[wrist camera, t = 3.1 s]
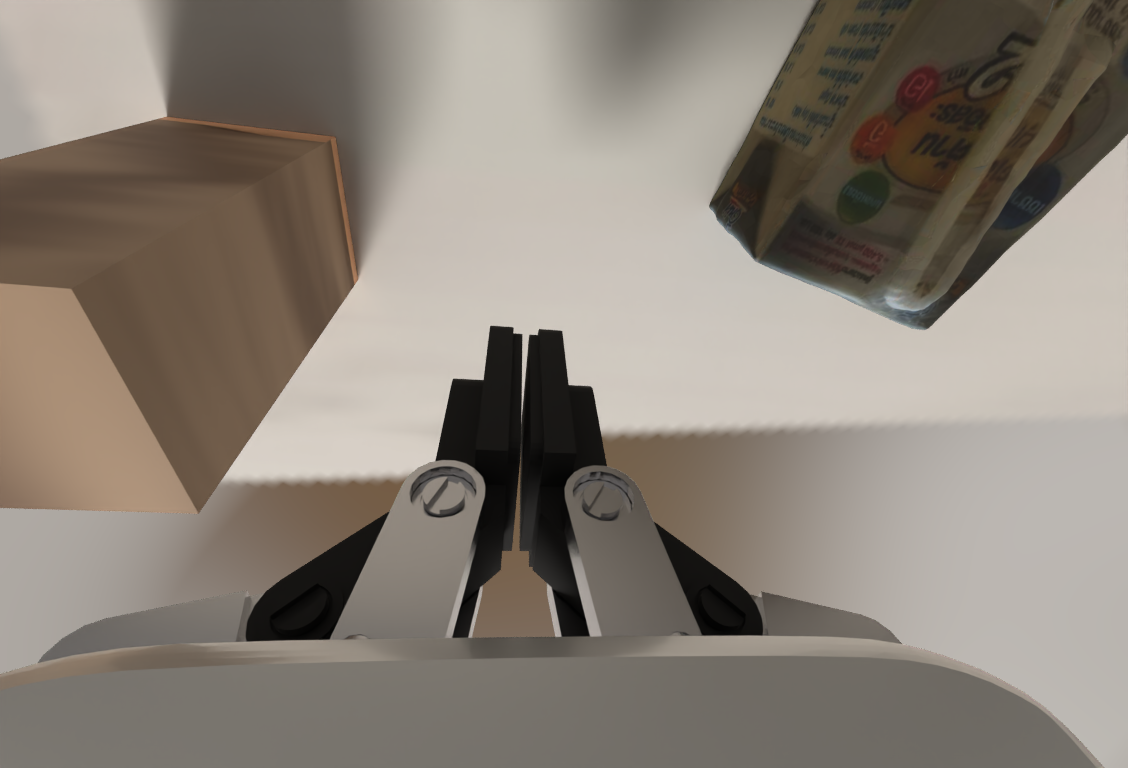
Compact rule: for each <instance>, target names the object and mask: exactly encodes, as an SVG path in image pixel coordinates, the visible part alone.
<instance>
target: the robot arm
mask: <svg viewBox="0 0 1128 768" xmlns="http://www.w3.org/2000/svg"><path fill="white" fill-rule="evenodd" d="M521 400H522V334H513V327H501V326H490V332H489V340H488V349H487V357H486V365H485V374H484V380H468V379H453V381H452V385H451V389H450V394H449V399H448V404H447V409H446V413H445V418H444V423H443V428H442V433H441V437H440V442H439V447H438V452H437V457H436V461H435V462H430V463H428V464H426V465H423V466H421V467H419V468H417V469H416V470H415V471H414V472H412V473H411V474H410V475H409V476H408V477H407V479H406V480H405V482H404V483H403V485H402V487H401V489H400V491H399V493H398V495H397V498H396V500H395V502H394V504H393V506H392V508H391V510H390V511H389V512H388V513H386V514H385V515H383V516H381V517H380V518H378V519H377V520H375V521H373V522H372V523H370V524H369V525H367V526H365V527H364V528H362V529H361V530H359V531H358V532H356V533H354V534H353V535H351V536H350V537H348V538H347V539H345V540H343V541H342V542H340V543H339V544H337V545H335V546H334V547H332V548H331V549H329V550H327V551H326V552H324V553H323V554H321V555H320V556H318V557H316V558H315V559H313V560H312V561H310V562H308V563H307V564H305V565H304V566H302V567H301V568H299V569H297V570H296V571H294V572H293V573H291V574H289V575H288V576H286V577H285V578H283V579H282V580H280V581H279V582H278V583H276V584H275V585H274V586H273V587H271V588H270V589H269V590H267V591H266V592H265V593H263V594H258V595H253V596H249V594H248V592H247V591H242V592H237V593H232V594H227V595H222V596H217V597H212V598H206V599H201V600H196V601H191V602H187V603H181V604H176V605H171V606H166V607H161V608H156V609H151V610H146V611H141V612H136V613H131V614H125V615H121V616H116V617H111V618H106V619H103V620H100V621H97V622H94V623H91V624H88V625H85V626H83V627H81V628H79V629H78V630H76V631H74V632H73V633H71V634H69V635H68V636H66V637H64V638H62V639H61V640H60V641H59V642H58V643H57V644H55V645H54V646H53V647H52V648H51V649H50V650H49V651H47V652H46V653H45V654H44V655H43V656H42V658H41V659H40V660H39V662H38V663H37V664H33V665H30V666H26V667H23V668H19V669H16V670H12V671H9V672H6V673H2V674H0V768H1104V767H1103V766H1102V764H1101V763H1100V762H1099V761H1098V760H1097V759H1096V758H1095V757H1094V756H1093V755H1092V753H1091V752H1090V751H1089V750H1088V749H1087V748H1086V747H1085V746H1084V745H1083V743H1082V742H1081V741H1079V739H1078V738H1077V737H1076V736H1075V735H1074V734H1073V733H1072V732H1071V731H1070V730H1069V729H1068V728H1067V727H1066V726H1065V725H1064V724H1063V723H1062V722H1061V721H1060V720H1058V719H1057V718H1056V717H1055V716H1054V715H1053V714H1052V713H1051V712H1050V711H1048V710H1047V709H1046V708H1045V707H1044V706H1042V705H1041V704H1040V703H1038V702H1037V701H1036V700H1034V699H1033V698H1031V697H1030V696H1029V695H1027V694H1026V693H1024V692H1023V691H1021V690H1019V689H1017V688H1015V687H1014V686H1012V685H1010V684H1008V683H1006V682H1005V681H1003V680H1001V679H999V678H997V677H995V676H993V675H991V674H989V673H986V672H984V671H983V670H981V669H978V668H975V667H973V666H970V665H968V664H965V663H962V662H960V661H957V660H955V659H952V658H949V657H946V656H944V655H941V654H937V653H934V652H931V651H928V650H924V649H920V648H916V647H912V646H908V645H903V644H902V643H901V642H900V641H899V640H898V639H897V638H896V637H895V636H894V635H893V633H892V632H891V631H890V630H888V629H887V628H886V627H884V626H883V625H881V624H880V623H879V622H877V621H876V620H873V619H871V618H868V617H866V616H863V615H860V614H856V613H852V612H847V611H843V610H839V609H834V608H830V607H826V606H821V605H817V604H813V603H809V602H804V601H800V600H796V599H791V598H787V597H783V596H778V595H774V594H770V593H765V592H761V593H760V594H759V595H758V596H754V595H750V594H749V593H748V592H747V591H746V590H745V589H744V588H743V587H741V586H740V585H739V584H738V583H737V582H736V581H734V580H733V579H732V578H730V577H729V576H728V575H726V574H725V573H723V572H722V571H721V570H719V569H718V568H717V567H715V566H714V565H712V564H711V563H710V562H708V561H707V560H706V559H704V558H703V557H701V556H700V555H699V554H697V553H696V552H695V551H693V550H692V549H691V548H689V547H688V546H686V545H685V544H684V543H682V542H681V541H680V540H678V539H677V538H675V537H674V536H673V535H671V534H670V533H669V532H667V531H666V530H664V529H663V528H662V527H660V526H659V525H658V524H656V523H655V522H654V521H653V519H652V517H651V515H650V512H649V510H648V508H647V505H646V503H645V501H644V498H643V496H642V493H641V491H640V490H639V488H638V486H637V485H636V483H635V482H634V481H633V480H632V479H631V478H630V477H629V476H627V475H626V474H624V473H623V472H620V471H619V470H617V469H614V468H611V467H607V464H606V459H605V453H604V449H603V442H602V437H601V431H600V426H599V420H598V415H597V410H596V404H595V399H594V393H593V389H592V387H591V386H573V385H568V377H567V368H566V360H565V351H564V343H563V334H562V331H557V330H543V329H539V331H538V335H529V344H528V356H527V367H526V378H525V389H524V401H523V412H522V424H521ZM520 452H521V477H520V480H521V482H520V551H529V567H533V570H534V572H536V573H537V574H538V575H539V576H540V577H541V578H542V579H543V580H544V581H545V582H546V583H547V595H548V601H549V606H550V611H551V616H552V622H553V627H554V632H555V637H506V638H505V637H502V638H501V637H500V638H499V637H497V638H472V633H473V629H474V625H475V621H476V616H477V612H478V608H479V603H480V600H481V595H482V585H484V584H485V583H486V582H487V581H488V580H489V579H490V578H492V577H493V576H494V575H495V574H496V573H497V572H498V571H499V570H501V558H502V551H511V550H512V542H513V530H514V520H515V509H516V497H517V486H518V477H519V476H518V475H519V465H520Z"/></svg>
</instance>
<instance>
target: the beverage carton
mask: <svg viewBox="0 0 1128 768" xmlns="http://www.w3.org/2000/svg"><path fill="white" fill-rule="evenodd" d="M1127 134H1128V0H820V2H819V4H818V6H817V7H816V9H815V11H814V13H813V15H812V16H811V18H810V20H809V22H808V24H807V25H806V27H805V29H804V31H803V33H802V35H801V36H800V38H799V40H798V42H797V44H796V45H795V47H794V49H793V51H792V53H791V55H790V56H789V58H788V60H787V62H786V64H785V65H784V67H783V69H782V71H781V73H780V75H779V76H778V78H777V80H776V82H775V84H774V86H773V87H772V89H771V91H770V93H769V95H768V97H767V98H766V100H765V102H764V104H763V106H762V108H761V110H760V112H759V114H758V116H757V118H756V120H755V122H754V124H753V126H752V128H751V130H750V132H749V134H748V136H747V138H746V140H745V142H744V144H743V146H742V148H741V149H740V151H739V153H738V155H737V156H736V158H735V160H734V162H733V164H732V165H731V167H730V169H729V171H728V173H727V175H726V176H725V178H724V180H723V182H722V184H721V186H720V187H719V189H718V191H717V193H716V194H715V196H714V198H713V199H712V201H711V202H710V206H709V207H710V209H711V210H712V211H713V212H714V213H715V215H716V218H717V221H718V222H719V223H720V224H721V225H722V226H723V227H724V228H725V229H726V231H727V232H728V233H729V234H731V235H733V236H734V237H735V238H736V239H737V240H738V241H739V242H740V244H741V245H742V246H743V248H744V249H745V250H746V251H747V252H748V253H749V255H750V256H751V257H752V258H753V259H754V260H755V261H756V262H758V263H760V264H762V265H765V266H767V267H769V268H771V269H773V270H776V271H778V272H780V273H783V274H785V275H788V276H791V277H793V278H796V279H798V280H801V281H803V282H805V283H807V284H810V285H813V286H816V287H818V288H821V289H824V290H826V291H829V292H831V293H833V294H836V295H838V296H841V297H843V298H845V299H847V300H848V301H850V302H852V303H854V304H856V305H859V306H861V307H863V308H866V309H868V310H870V311H872V312H875V313H877V314H879V315H881V316H883V317H886V318H888V319H890V320H892V321H895V322H897V323H899V324H902V325H905V326H907V327H910V328H912V329H919V330H926V329H928V328H929V327H930V326H931V325H932V324H933V323H934V322H935V321H936V320H937V319H938V318H939V317H940V316H941V315H942V314H943V313H944V312H945V311H946V310H947V309H949V308H950V307H951V306H952V305H953V304H954V303H955V302H956V301H957V300H958V299H959V298H960V297H961V296H962V295H963V294H964V293H965V292H966V291H967V290H969V289H970V288H971V287H972V286H973V285H974V284H975V283H976V282H977V281H978V280H979V279H980V278H981V277H982V276H983V274H984V273H985V272H986V271H987V270H988V269H989V268H990V267H991V266H992V265H993V264H994V263H995V262H996V261H997V260H998V259H999V258H1000V257H1001V256H1002V254H1003V253H1004V252H1005V251H1007V250H1008V249H1009V248H1010V247H1011V246H1012V245H1013V244H1014V243H1015V242H1017V241H1018V240H1019V239H1020V238H1021V237H1022V236H1023V235H1024V234H1025V233H1027V232H1028V231H1029V230H1030V229H1031V228H1032V227H1033V226H1034V225H1035V224H1036V223H1038V222H1039V221H1040V220H1041V219H1042V218H1043V217H1044V216H1045V215H1046V214H1047V213H1048V212H1049V211H1050V210H1051V209H1052V208H1053V207H1054V206H1055V205H1056V204H1057V203H1058V202H1059V201H1060V200H1061V199H1062V198H1063V197H1064V196H1065V195H1066V194H1067V193H1068V192H1069V191H1070V190H1071V189H1072V188H1073V187H1074V186H1075V185H1076V184H1077V183H1078V182H1079V181H1080V180H1081V179H1082V178H1083V177H1084V176H1085V175H1086V174H1087V173H1088V172H1089V171H1090V170H1091V169H1092V168H1093V167H1094V166H1095V165H1096V164H1097V163H1098V162H1099V161H1100V160H1102V159H1103V158H1104V157H1105V156H1106V155H1107V154H1108V153H1109V152H1110V151H1112V150H1113V149H1114V148H1115V147H1116V146H1117V145H1118V144H1119V143H1120V142H1121V140H1122V139H1123V138H1124V137H1125V136H1126V135H1127Z"/></svg>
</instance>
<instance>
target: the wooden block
mask: <svg viewBox="0 0 1128 768" xmlns="http://www.w3.org/2000/svg"><path fill="white" fill-rule="evenodd" d="M357 281H358V276H357V270H356V264H355V257H354V251H353V245H352V238H351V232H350V226H349V219H348V213H347V207H346V200H345V194H344V187H343V181H342V175H341V168H340V162H339V156H338V149H337V143H336V137H333V136H324V135H316V134H307V133H299V132H291V131H282V130H274V129H265V128H257V127H249V126H240V125H232V124H224V123H215V122H207V121H198V120H190V119H182V118H173V117H164V118H160V119H156V120H152V121H148V122H144V123H141V124H137V125H133V126H129V127H125V128H121V129H117V130H113V131H109V132H105V133H101V134H98V135H94V136H90V137H86V138H82V139H78V140H74V141H70V142H66V143H62V144H58V145H54V146H51V147H47V148H43V149H39V150H35V151H31V152H27V153H23V154H19V155H15V156H12V157H8V158H4V159H0V508H24V509H60V510H92V511H126V512H127V511H128V512H160V513H162V512H163V513H194V514H198V513H199V512H200V510H201V509H202V508H203V506H204V505H205V503H206V502H207V500H208V499H209V497H210V496H211V495H212V493H213V492H214V490H215V489H216V487H217V486H218V484H219V483H220V481H221V480H222V478H223V477H224V476H225V474H226V473H227V471H228V470H229V468H230V467H231V465H232V464H233V462H234V461H235V459H236V458H237V457H238V455H239V454H240V452H241V451H242V449H243V448H244V446H245V445H246V443H247V442H248V440H249V439H250V437H251V436H252V435H253V433H254V432H255V430H256V429H257V427H258V426H259V424H260V423H261V421H262V420H263V418H264V417H265V415H266V414H267V413H268V411H269V410H270V408H271V407H272V405H273V404H274V402H275V401H276V399H277V398H278V396H279V395H280V393H281V392H282V391H283V389H284V388H285V386H286V385H287V383H288V382H289V380H290V379H291V377H292V376H293V374H294V373H295V371H296V370H297V369H298V367H299V366H300V364H301V363H302V361H303V360H304V358H305V357H306V355H307V354H308V352H309V351H310V349H311V348H312V347H313V345H314V344H315V342H316V341H317V339H318V338H319V336H320V335H321V333H322V332H323V330H324V329H325V328H326V326H327V325H328V323H329V322H330V320H331V319H332V317H333V316H334V314H335V313H336V311H337V310H338V308H339V307H340V306H341V304H342V303H343V301H344V300H345V298H346V297H347V295H348V294H349V292H350V291H351V289H352V288H353V286H354V285H355V284H356V282H357Z"/></svg>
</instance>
